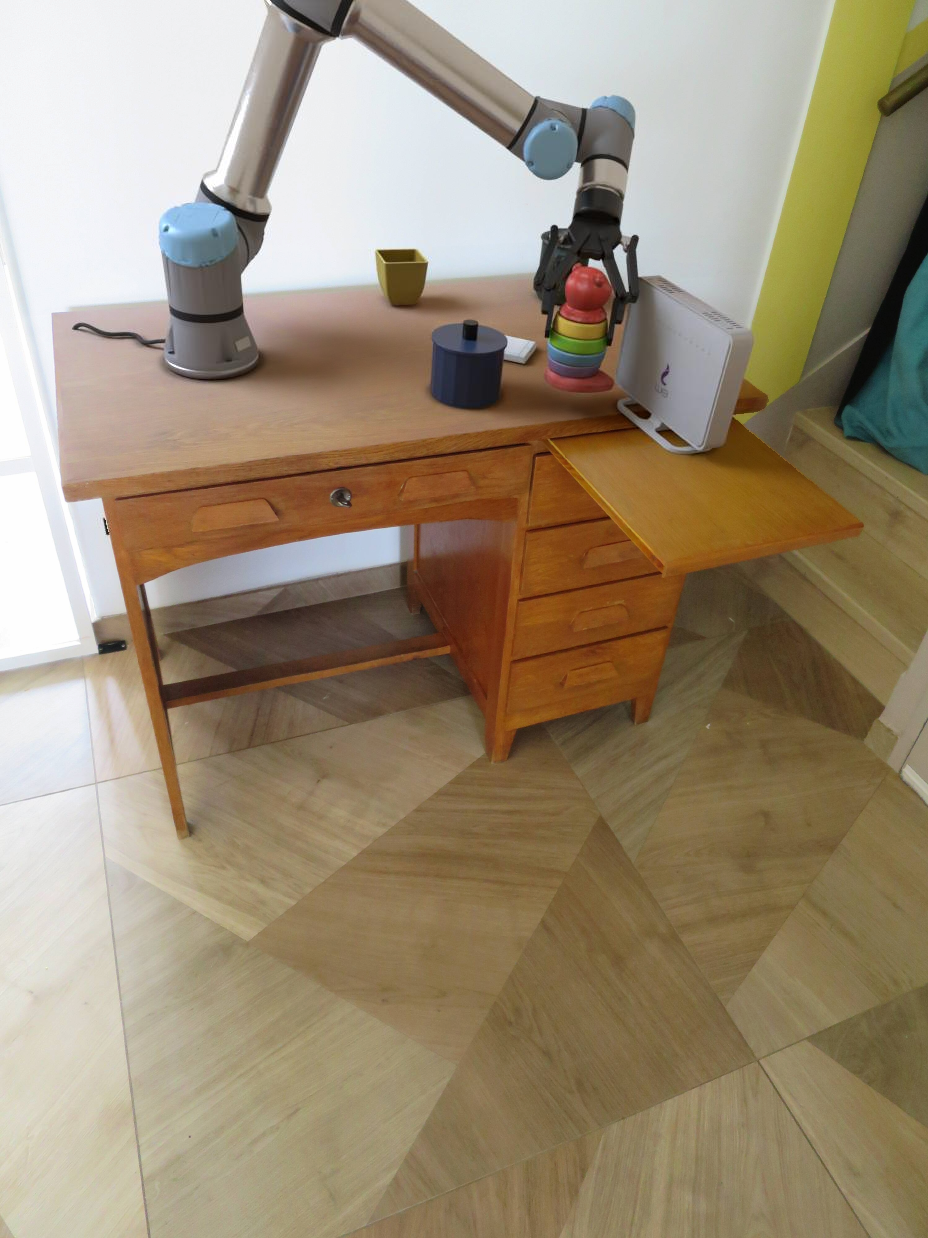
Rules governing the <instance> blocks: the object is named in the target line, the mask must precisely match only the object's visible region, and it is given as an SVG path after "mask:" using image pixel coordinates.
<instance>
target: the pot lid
mask: <svg viewBox="0 0 928 1238" xmlns="http://www.w3.org/2000/svg"><path fill="white" fill-rule="evenodd" d="M462 321H463V322H462V323H461V322H459V323H458V322H457V323H449V324H444V325H441V326H438V327H437V328H435V329H433V331H432V332H431V335H430V337H431V338H430V340H431V342H432V344H433V343H434V344H435V345H436V346H437V347H439V348H441V349H443V350H445V351H448V352H451V353H454V354H459V355H466V356H487V355H493V354H496V353H499V352H501V351H503V350H504V349H505V348H506V347H507V343H508V340H507V338H506V336H507V335H506V334H504V333H503V332H502V331H500V330H498V329H495V328H493V327H490V326H486V325H482V324H479V321H478V320H476V319H470V318H469V319H464V320H462ZM505 335H506V336H505Z"/></svg>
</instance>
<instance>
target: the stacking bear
mask: <svg viewBox="0 0 928 1238" xmlns="http://www.w3.org/2000/svg"><path fill="white" fill-rule="evenodd" d="M612 293H613V289H612V286H611V283H610V280H609V278H608V276H607V275H606V274H605V273H604V272H603V271H602V270H600V269H598V268H596V267H594V266H588V267H583V266H582V265H581V264H580V263H577V264H575V265H574V266H573V268H572V273H571V274H570V276H569V277H568V279H567V281H566V286H565V295H566V300H567V302H565V303H564V304H563V305H560V307H559V308H558V310H557V311H556V313H555V315H554V316H553V319H552V324H551V331H550V337H549V338H547V341H546V342H547V344H546V345H547V347H546V350H547V351H546V352H547V363H548V365H547V367H546V368H545V371H544V374H543V379H544V381H545V382H546V383H547V384H548V385H549V386H551V387H553V388H555V389H558V390H559V391H563V392H568V393H577V394H578V393H579V394H596V393H604V392H608V391H611V390H613V388H614V385H615V382H614V381H615V380H614V378H613V377H612V376H611V375H609V374H608V373H606V372H605V371H603V370H601V369H600V368H601V366H602V363H603V361H604V358H605V356H606V353H607V351H608V350H607V349H608V346H606V343H607V336H608V330H609V321H608V313H607V311H606V310H605V308H604V306H605V305H606V304H607V302H608V301H609V299H610V297H611V295H612Z"/></svg>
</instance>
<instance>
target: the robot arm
mask: <svg viewBox="0 0 928 1238" xmlns="http://www.w3.org/2000/svg"><path fill="white" fill-rule="evenodd" d="M263 2H264V5H265V8H266V11H267V12H266V13H267V14H266V17H265V19H264V22H263V25H262V29H261V32H260V35H259V37H258V41H257V44H256V46H255V51H254V53H253V56H252V59H251V61H250V64H249V67H248V72H247V74H246V77H245V79H244V83H243V86H242V90H241V92H240V95H239V99H238V102H237V104H236V107H235V111H234V113H233V117H232V120H231V123H230V125H229V128H228V132H227V135H226V137H225V141H224V143H223V147H222V150H221V152H220V156H219V159H218V161H217V165H216V168H215V169H212V170H210V171H206V172H204V174H203V175H202V178H201V180H200V184H199V187H198V190H197V193H196V196H195V198H194V202H187V203H182V204H180V206H179V205H178V206H177V205H176V206H175V205H174V206H173V207H170V208H168V209H167V210H166V211H165V212H164V213H163V214H162V215H161V217H160V219H159V221H158V246H159V248H160V253H161V259H162V267H163V273H164V280H165V282H164V283H165V287H166V295H167V302H168V308H169V321H168V327H167V331H166V336H165V338H157V339H150V340H149V339H148V340H147V339H143V338H142V336H141V335H140V334H138V333H136V332H132V331H119V332H118V331H115V332H111V331H106V330H102V329H99V328H98V327H95V326H93V325H91V324H89V323H87V322H77V323H76V324H74V325H73V326H72V328H71V330H72V331H73V330H75V331H76V330H78V329H79V328H86V329H88V330H90V331H92V332H95V333H96V334H98V335H102V336H105V337H112V338H113V337H114V338H115V337H133V338H135V339H137V340H138V342H139V343H140V344H142V345H146V346H147V345H156V344H157V345H158V344H164V346H163V357H164V358H163V359H164V364H165V366H166V367H167V368H168V369H169V370H170V371H171V372H173V373H175V374H177V375H179V376H184V377H187V378H191V379H198V380H199V379H200V380H220V379H227V378H228V379H229V378H234V377H238V376H241V375H244V374H247V373H248V372H250V371H252V370H254V369H255V368H256V367H257V365H258V364H259V360H260V359H259V358H260V357H259V350H258V345H257V342H256V339H255V337H254V335H253V333H252V330H251V327H250V326H249V322H248V321H247V318H246V316H245V309H244V297H243V296H244V295H243V284H242V283H243V282H242V275H243V273H244V272H245V270H246V269H247V267H248V266H249V265H250V263H251V262H252V261H253V260H254V259H255V257H256V256H258V254H259V252H260V250H261V248H262V246H263V243H264V240H265V229H266V226H267V224H268V221H269V218H270V215H271V213H272V209H273V206H272V204H271V202H270V199H269V196H268V193H269V191H270V187H271V185H272V183H273V180H274V178H275V175H276V172H277V169H278V166H279V163H280V160H281V158H282V155H283V154H284V153H283V152H284V150H285V147H286V144H287V142H288V139H289V138H290V137H289V136H290V134H291V132H292V130H293V126H294V123H295V120H296V118H297V115H298V112H299V110H300V107H301V105H302V102H303V100H304V97H305V93H306V91H307V88H308V86H309V83H310V80H311V78H312V75H313V72H314V69H315V67H316V64H317V62H318V59H319V56H320V53H321V50H322V49H323V46H324V45H325V44H327V43H329V42H330V43H331V42H332V41H335V40H337V39H339V40H341V41H342V40H347V39H353V40H354V41H356V42H358V43H359V44H360V45H362V46H363V47H364V48H366V49H367V50H369V52H371V53H372V54H374V55H376V56H377V57H378V58H379V59H381V60H383V62H385V63H387V64H388V65H389V66H391V67H392V68H394V69H395V70H396V71H398V72H399V73H400V74H401V75H404V76H405V77H406V78H407V79H409V80H410V81H412V82H413V83H415V84H416V85H417V86H419V87H420V88H422V89H423V90H424V91H426V92H427V93H428V94H430V95H432V96H433V97H434V98H436V99H437V100H438V101H440V102H441V103H443V104H444V105H445V106H447V107H448V108H449V109H451V110H452V111H454V112H455V113H456V114H458V115H459V116H461V118H463V119H465V120H466V121H468V122H469V123H470V124H472V125H473V126H474V127H476V128H477V129H479V131H482V132H483V133H484V134H486V135H487V136H489V137H490V138H491V139H493V140H494V141H495V142H496V143H498V144H500V145H502V147H504V148H505V149H506V150H508V151H509V152H510V153H511V154H512V155H514V156H515V157H516V158H517V159H519V160H521V162H523V163H524V164H525V166H526V167H527V169H528V170H529V171H530V173H532V174H533V175H534V176H535V177H537V178H539V179H540V180H543V181H554V180H558V179H560V178H562V177H564V176H565V175H566V174H567V173H569V172H570V170H571V169H572V168H573V166H574V164H575V163H578V164H580V167H579V173H578V178H577V184H576V185H577V186H576V192H575V196H576V197H575V199H574V203H573V204H574V205H573V210H572V211H573V212H572V216H571V222H570V224H569V225H568V226H567V227H563V228H562V227H559V225H557V224H551V226H550V227H549V231H550V240H549V243H548V245H547V248H546V250H545V253H544V255H543V257H542V260H541V262H540V261H539V263H540V265H539V264H538V268H537V269H536V272H535V275H534V277H533V283H532V284H533V285H532V288H533V291H535V292H536V291H540V292H542V294H543V299H541V306H540V313H541V315H542V316H543V315H545V316H546V320H545V321H546V322H545V328H544V339H548V338H549V337H550V331H551V325H552V323H553V319H554V310H555V305H556V304H555V299H556V290H555V289H556V288H557V286H558V285H559V283H560V282H561V281H562V279H563V278H564V277H565V275H566V274H567V272H568V271H569V270H570V268H571V267H572V266H573V264H575V263H576V261H577V260H578V259H579V257H581V258H580V259H589V260H593V261H595V262H602V266H603V268H604V270H605V272H606V276H607V279H608V281H609V283H610V285H611V287H612V293H613V295H614V297H613V300H612V305H611V310H610V316H609V322H608V336H607V343H606V346H607V347H612V344H613V341H614V335H615V327H616V325H619V326H621V325H622V324H623V321H624V318H625V313H626V312H625V311H626V306H627V305H629V303H633V304H634V303H636V302H637V300H638V297H639V293H640V291H639V279H638V277H639V270H638V257H637V248H638V245H639V240H640V237H639V235H637V234H633V235H631V236H627V235H623V232H622V230H621V225H622V224H621V223H622V219H623V211H624V202H625V197H626V191H627V184H628V179H629V178H628V177H629V176H628V175H629V168H630V162H631V157H632V150H633V144H634V140H635V136H636V134H635V130H636V118H637V116H636V115H637V114H636V110H635V107H634V106H633V104H632V103H631V102H630V101H629V100H628V99H626V98H625V97H623V96H620V95H616V94H611V95H610V96H606V95H602V96H600V97H598V98H595V100H594V101H593V102H592V103H591V105H590V107H589V108H588V107H580V106H575V105H572V104H568V103H563V102H559V101H556V100H551V99H547V98H543V97H541V96H540V95H535V96H534V95H533V94H531V93H530V92H529V91H527V90H526V88H523V87H522V86H521V85H520V84H518V83H517V82H516V81H514V80H513V79H512V78H511V77H509V76H507V75H506V74H505V73H503V71H501V70H500V69H498V68H497V67H496V66H494V65H493V64H491V63H490V61H488V60H487V59H486V58H484V57H483V56H482V55H480V54H479V53H478V52H476V51H474V49H472V48H470V47H469V46H468V45H467V44H465V42H463V41H461V40H460V39H459V38H457V37H456V36H455V35H453V34H452V33H451V32H449V30H447V29H446V28H444V27H443V26H441V25H440V24H439V23H438V22H436V21H435V20H434V19H432V18H431V17H430V16H428V15H427V14H426V13H424V12H423V11H422V10H420V9H419V8H418V7H417V6H415V5H414V4H412V3H411V2H410V1H408V0H263ZM566 237H567V238H568V240H569V242H570V244H571V247H570V249H569V251H568V253H567V254H566V256H565V257H564V258H563V260H562V261H561V263H560V264H559V265H558V267H557V268H556V269H555V271H554V272H553V274H552V275H551V276H550V278H549V279H548V280H547V282H546V281H544V279H545V277H546V275H547V272H548V270H549V267H550V265H551V262H552V260H553V257H554V255H555V252H556V249H557V244H558V245H559V244H561V243H562V241H563V239H564V238H566ZM619 245H621V246H622V251H623V252H624V253H625V254H626V256H625V264H626V274H627V286H628V291H627V290H626V287H625V284H624V281H623V278H622V275H621V272H620V270H619V267H618V263H617V261H616V258H615V253H614V250H615V249H616V248H618V246H619ZM105 518H106V517H102V521H103V527H104V531H105V535H106V536H109V535H110V534H109V533H110V531H109V532H108V529H107V525H106V520H105Z"/></svg>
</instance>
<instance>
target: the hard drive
mask: <svg viewBox="0 0 928 1238" xmlns="http://www.w3.org/2000/svg"><path fill="white" fill-rule="evenodd" d="M504 335H505V336H506V338H507V340H508V343H507V347H506V348H505V352H504V361H508V362H514V363H517V364H526V362H527V361H528V360H529V359H530V357H531V356H532V354H533V353H534V352H535V351H536V349H537V341H533V340H530V339H529V340H528V339H524V338H520V337H514V336H511V335H506V334H504Z"/></svg>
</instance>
